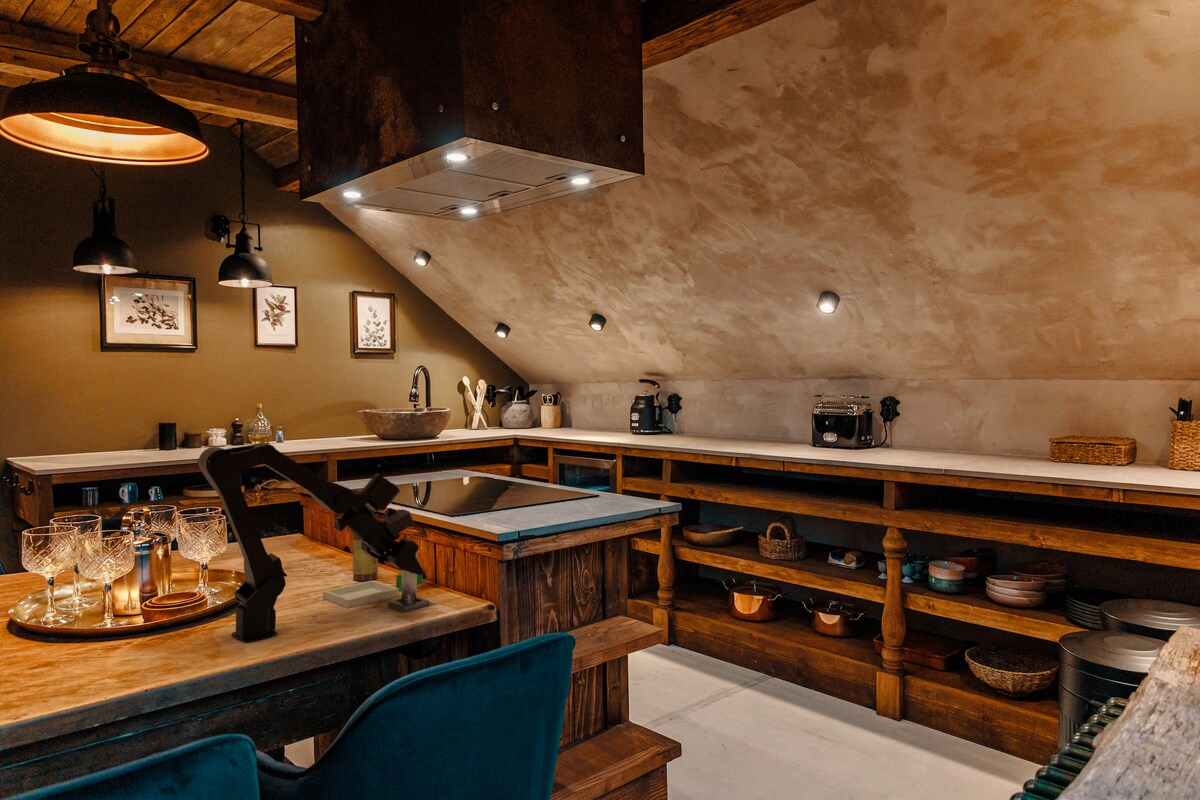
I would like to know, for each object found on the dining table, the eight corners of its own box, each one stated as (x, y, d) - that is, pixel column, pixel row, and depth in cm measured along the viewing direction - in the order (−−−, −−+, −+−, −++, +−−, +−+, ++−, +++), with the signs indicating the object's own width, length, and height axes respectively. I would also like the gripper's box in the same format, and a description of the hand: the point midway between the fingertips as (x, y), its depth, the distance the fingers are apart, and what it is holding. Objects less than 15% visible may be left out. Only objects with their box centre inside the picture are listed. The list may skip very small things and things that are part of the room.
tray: (348, 609, 168) (348, 600, 168) (322, 600, 175) (322, 591, 175) (398, 597, 179) (398, 588, 179) (372, 589, 186) (373, 580, 186)
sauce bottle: (378, 581, 193) (380, 504, 193) (353, 582, 191) (354, 505, 190) (376, 574, 199) (377, 500, 199) (351, 576, 197) (353, 501, 196)
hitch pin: (406, 608, 169) (408, 547, 169) (395, 605, 172) (396, 544, 171) (421, 604, 172) (423, 544, 172) (410, 601, 175) (412, 541, 175)
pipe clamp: (410, 594, 182) (410, 576, 182) (395, 594, 183) (396, 575, 183) (426, 582, 194) (427, 565, 193) (412, 581, 194) (413, 564, 194)
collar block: (401, 615, 166) (401, 609, 165) (379, 607, 171) (380, 601, 171) (437, 605, 173) (437, 599, 173) (415, 598, 178) (415, 593, 178)
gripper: (411, 505, 161) (455, 549, 169) (374, 494, 175) (416, 535, 183) (376, 545, 156) (423, 589, 164) (341, 531, 170) (385, 571, 178)
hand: (412, 569), depth 172 cm, fingers open, 9 cm apart
